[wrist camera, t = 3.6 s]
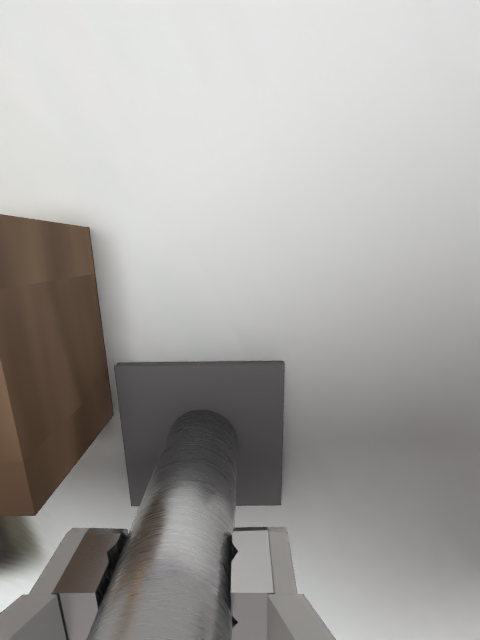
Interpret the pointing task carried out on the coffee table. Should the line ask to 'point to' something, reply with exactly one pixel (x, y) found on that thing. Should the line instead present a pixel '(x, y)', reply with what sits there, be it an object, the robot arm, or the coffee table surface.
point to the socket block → (47, 359)
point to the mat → (207, 394)
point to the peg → (179, 542)
